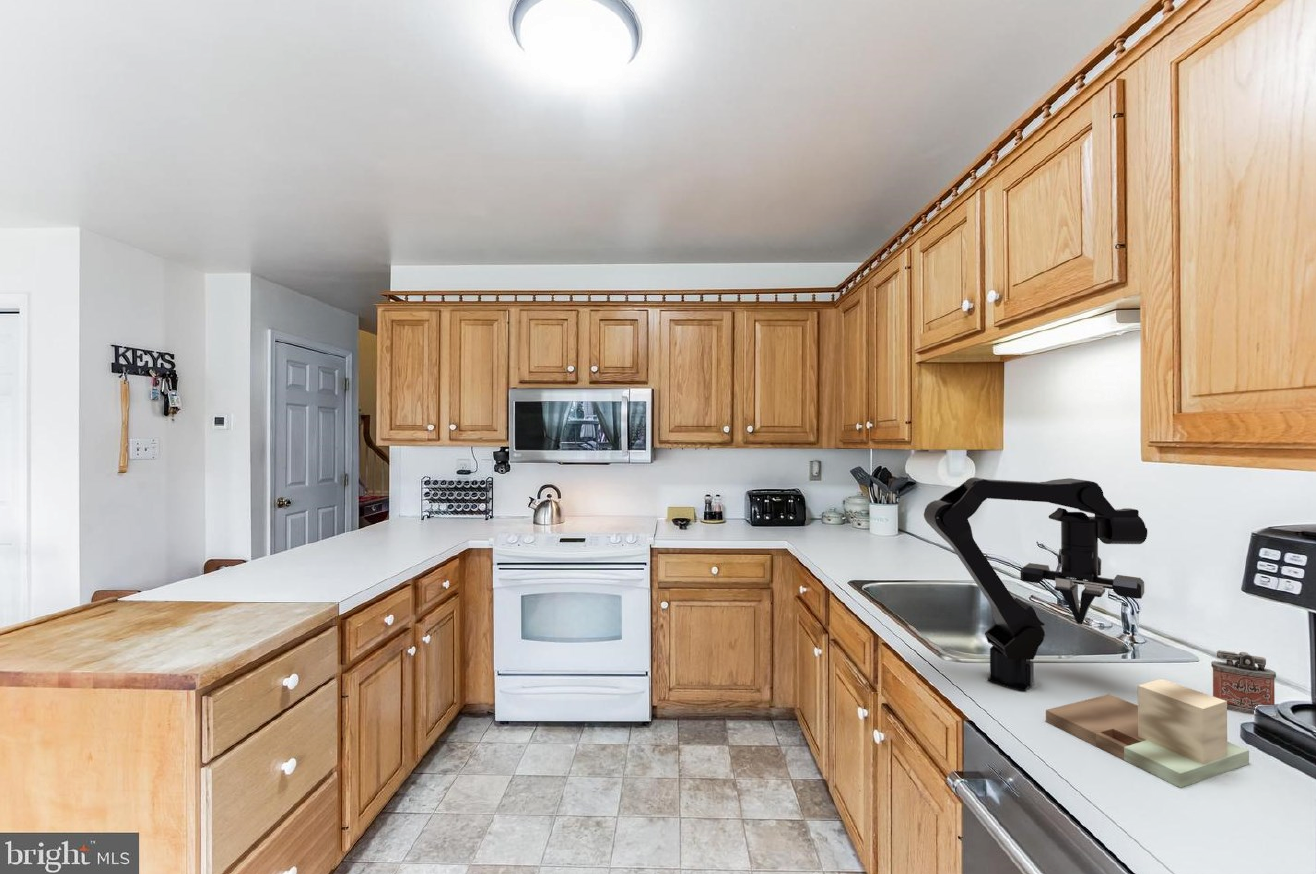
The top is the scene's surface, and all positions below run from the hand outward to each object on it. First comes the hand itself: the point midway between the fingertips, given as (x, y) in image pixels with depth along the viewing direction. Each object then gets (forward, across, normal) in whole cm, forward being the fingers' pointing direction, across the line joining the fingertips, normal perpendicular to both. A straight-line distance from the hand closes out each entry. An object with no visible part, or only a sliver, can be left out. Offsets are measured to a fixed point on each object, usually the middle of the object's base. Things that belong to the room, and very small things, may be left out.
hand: (1080, 623), depth 109 cm
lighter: (+12, -22, -8) cm, 26 cm away
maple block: (+10, -15, +20) cm, 27 cm away
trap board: (+12, -10, +17) cm, 23 cm away
